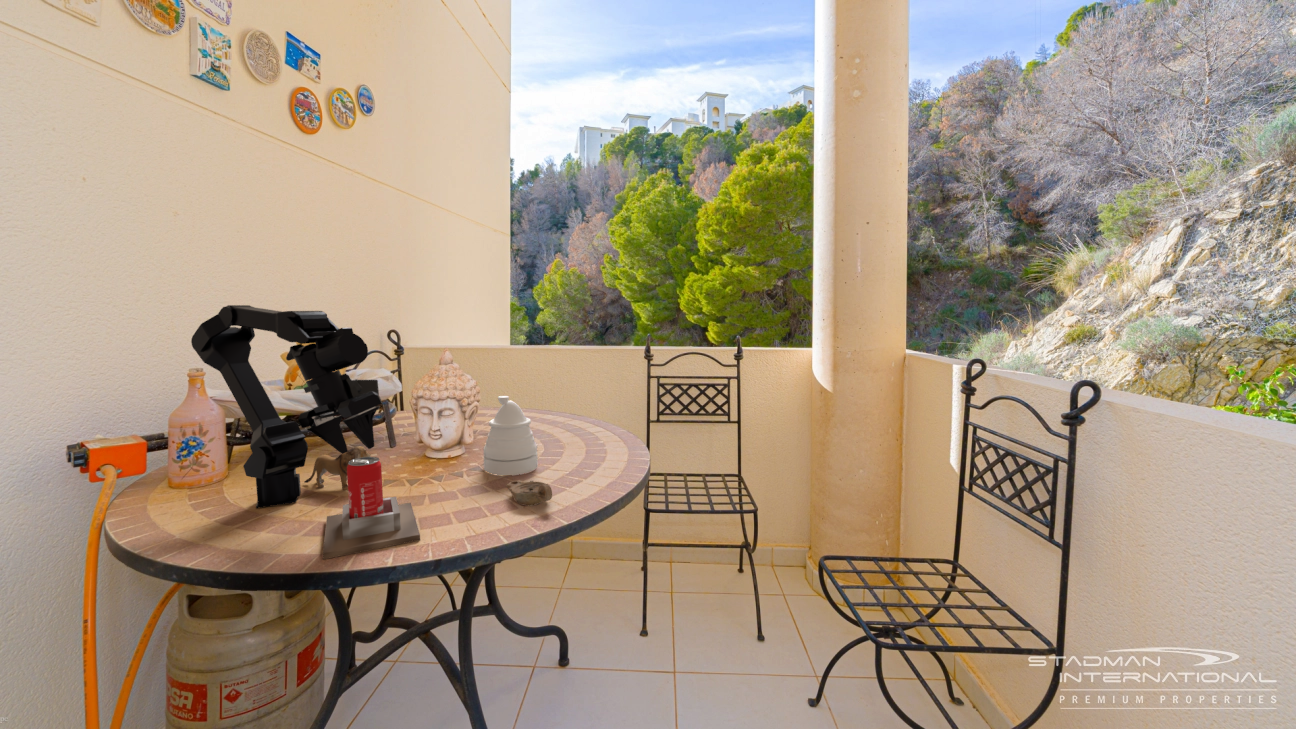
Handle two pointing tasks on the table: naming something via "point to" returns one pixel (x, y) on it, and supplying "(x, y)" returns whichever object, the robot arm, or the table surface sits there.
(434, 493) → the table surface
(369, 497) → the beverage can
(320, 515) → the table surface
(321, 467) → the lion figurine
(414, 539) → the can socket board
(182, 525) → the table surface
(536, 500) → the oil lamp
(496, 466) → the honey pot
